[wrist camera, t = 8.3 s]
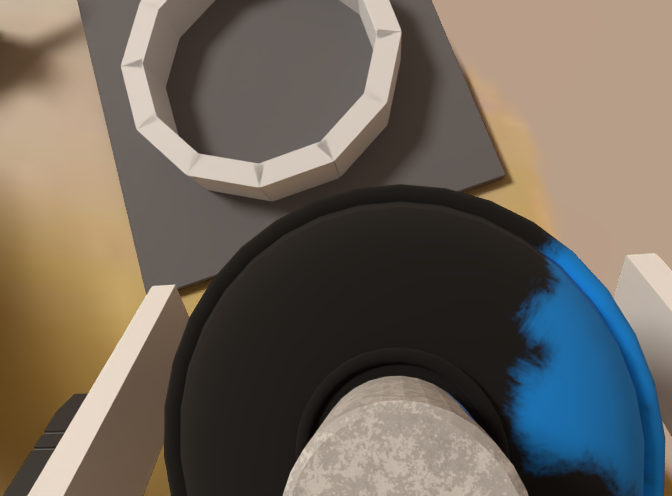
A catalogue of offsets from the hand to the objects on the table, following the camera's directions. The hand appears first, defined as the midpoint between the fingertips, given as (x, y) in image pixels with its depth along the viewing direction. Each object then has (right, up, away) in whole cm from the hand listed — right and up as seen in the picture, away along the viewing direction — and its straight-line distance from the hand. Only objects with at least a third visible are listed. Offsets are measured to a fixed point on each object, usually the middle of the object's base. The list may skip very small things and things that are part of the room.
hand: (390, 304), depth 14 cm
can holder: (-5, +11, +13) cm, 18 cm away
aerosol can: (+1, -4, +9) cm, 10 cm away
